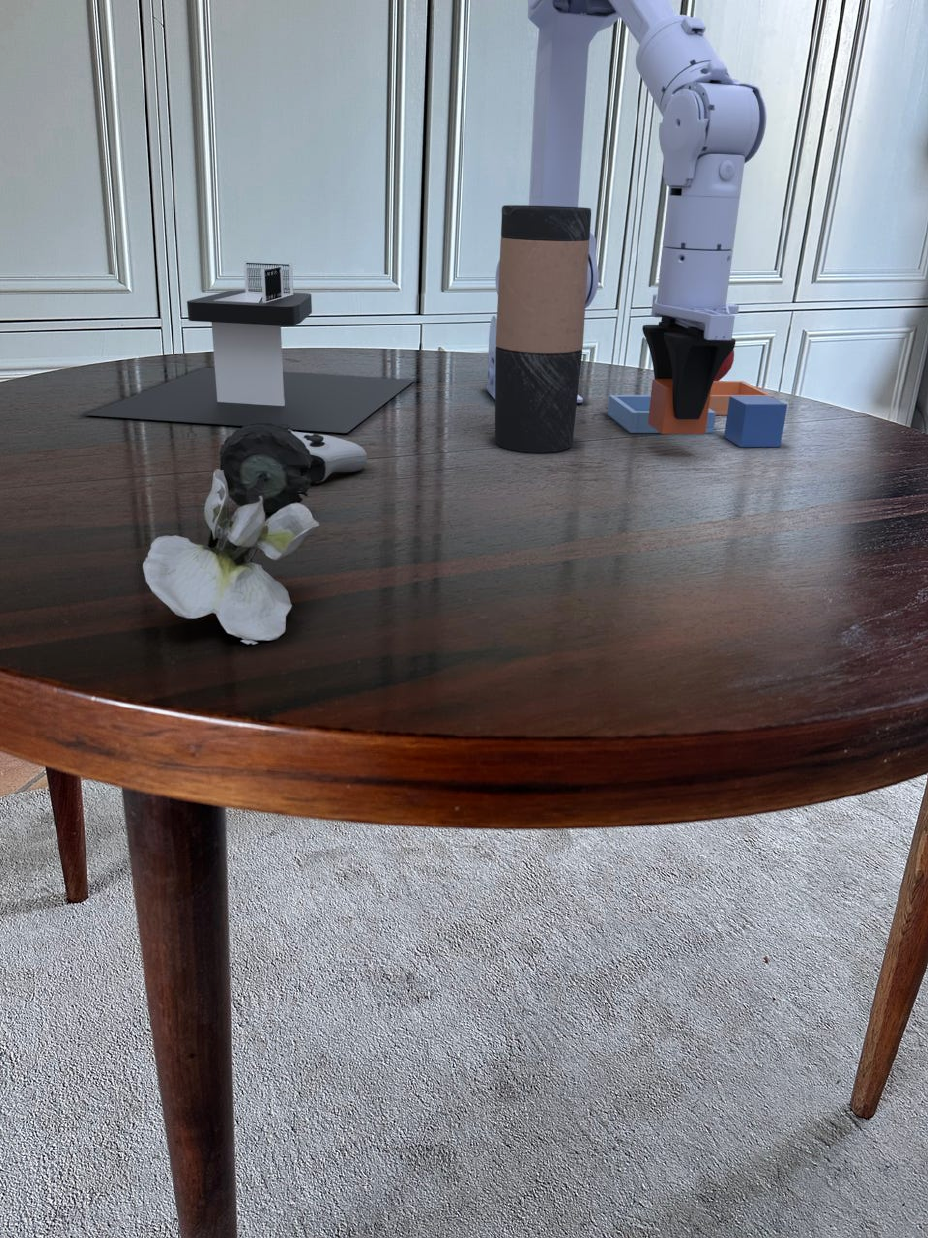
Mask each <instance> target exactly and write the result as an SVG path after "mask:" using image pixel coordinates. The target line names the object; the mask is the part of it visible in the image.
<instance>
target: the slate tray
mask: <svg viewBox="0 0 928 1238" xmlns="http://www.w3.org/2000/svg"><path fill="white" fill-rule="evenodd" d="M650 399H651V394H639V395H638V394H615V395H614V394H610V395H608V402H607V413H606V414H607V415H608V416H609V417H610V418H611V419H613V420H614V421H615V422H616V423H617V424H618V425H620V426H621V427H622V428H624V429H625V430H626V431H627V432H628V433H630V434H661V433H660V432H659V431H657V430H656V429H655V428H653V427H652V426H651V425H649V424H648V418H649V409H650ZM716 416H717V415H716V412H714V411H713V410H711V409H709V410H708V418H707V426H706V433H705V434H713V433H714V432H715V423H716Z"/></svg>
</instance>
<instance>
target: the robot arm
mask: <svg viewBox="0 0 928 1238" xmlns="http://www.w3.org/2000/svg"><path fill="white" fill-rule="evenodd" d="M527 19H528V20H529V21H530V22H531V23H532V24H533V25H535V26H536V45H535V47H536V49H535V68H534V89H533V108H532V109H533V110H532V131H531V153H530V156H531V157H530V173H529V192H528V193H529V196H528V205H529V206H562V207H579V201H580V200H579V199H580V196H579V195H580V186H581V185H580V183H581V169H582V168H581V167H582V154H583V140H584V139H583V137H584V124H585V123H584V122H585V108H586V95H587V94H586V92H587V80H588V79H587V78H588V64H589V63H588V62H589V49H590V44H591V42H592V41H593V39H594V38H595V36H596V35H597V34H598V33H599V32H601V31H603V30H606V29H609V28H611V27H612V26H613V25H614V24H615V23H616V22H617V21H618V20H619V19H621V21H622V22H623V23H624V25H625V26H626V28H627V29H628V31H629V32H630V33H631V35H632V37H633V38H634V39H635V40H636V42H637V43H638V48H637V51H636V55H635V66H636V70H637V72H638V75H639V76H640V77H641V80H642V81H643V83H644V85H645V87H646V89H647V90H648V93H649V94H650V96H651V98H652V100H653V102H654V103H655V106H656V107H657V109H658V111H659V113H660V114H661V116H662V121H661V122H660V123H659V124H658V139H659V146H660V150H661V153H662V156H663V172H662V173H663V174H662V179H664V180H663V181H664V182H663V183H664V185H665V186H667V187H668V189H667V190H668V191H667V200H666V201H667V203H666V211H665V221H664V230H663V239H662V247H661V258H660V267H659V268H660V269H659V276H658V277H659V278H658V285H657V286H658V287H657V293H655V294H654V293H653V296H652V303H651V314H650V316H651V317H653V318H656V319H657V318H661V321H659V322H658V324H643V325H642V327H641V328H642V329H641V331H642V334H643V337H644V338H645V341H646V344H647V347H648V349H649V350H648V351H649V353H650V357H651V363H652V368H653V369H652V370H653V377H654V378H653V379H673V411H674V417H675V418H676V419H699V418H700V416H701V414H702V411H703V409H704V406H705V403H706V400H707V398H708V395H709V392H710V389H711V387H712V384H713V382H714V380H715V377H716V375H717V373H718V371H719V370H720V368H721V366H722V364H723V363H724V361H725V360H726V358H727V357H728V355H729V354H730V353H731V351H732V350H733V349H734V350H735V347H736V342H737V341H736V340H737V339H736V338H733V331H734V325H735V324H734V323H735V319H736V315H738V314H739V311H740V310H739V309H740V306H739V305H738V304H736V303H731V302H727V299H728V293H729V292H728V291H729V283H730V276H731V270H732V269H731V268H732V260H733V255H734V254H733V253H734V246H735V237H736V231H737V224H738V223H737V222H738V216H739V215H738V214H739V206H740V199H741V193H742V184H743V177H744V170H745V164H746V163H748V162H749V161H750V160H752V158H754V156H755V155H756V153H757V152H758V150H759V149H760V147H761V145H762V143H763V140H764V137H765V132H766V128H767V107H766V102H765V100H764V98H763V96H762V92H761V89H760V87H759V86H758V85H756V84H754V83H746V82H740V81H739V79H737V78H735V79H734V78H732V77H731V75H730V74H729V72H728V67H727V66H726V64H725V63H724V61H722V60H721V59H720V57H719V55H718V54H717V52H716V51H715V49H714V47H713V45H712V44H711V42H710V40H709V39H708V37H707V35H706V33H705V32H706V24H704V22H703V20H702V19H701V18H699V17H692V16H689V15H686V14H677V13H676V10H675V9H674V7H673V5H672V2H671V0H527ZM596 246H597V239H596V237H595V235H594V234H593V233H592V232H591V231H590V239H589V256H588V272H587V287H586V303H585V309H587V308H589V306H590V305H592V302H593V301H594V299H595V297H596V295H597V291H598V288H599V283H600V281H599V280H600V274H599V273H600V272H599V267H598V263H597V251H596V250H597V247H596ZM499 263H500V258H499V259H498V262H497V265H496V269H495V270H496V271H495V291H496V295H497V296H498V284H499ZM496 325H497V314H494V315H493V316H492V317H491V321H490V326H489V335H488V358H487V359H488V360H487V361H488V363H487V385H486V388H485V389H486V391H487V392H488V393H489V394H490V396H491V397H492V398H493V399H494V400H495V350H496ZM583 402H584V398H583V397H582V396H580V395H579V394H578V398H577V404H582V403H583Z"/></svg>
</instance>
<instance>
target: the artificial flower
mask: <svg viewBox="0 0 928 1238" xmlns="http://www.w3.org/2000/svg"><path fill="white" fill-rule="evenodd" d="M223 442H224V443H223V444H221V447H220V451H219V462H220V464H219V468H220V469H219V468H216V469H214V471H213V475H212V484H211V490H210V492H209V494H208V495H207V498H206V499H205V503H204V507H203V508H204V509H203V514H204V516H203V517H204V520H205V522H206V524H207V526H208V527H209V529H210V530H209V535H208V539H207V544H200V543H194V542H192V541H191V540H190V539H189V538H187V537H183V536H180V535H172V536H171V535H162V536H158V537H156V538H155V539H154V540H153V541H152V542H151V543H150V549H149V551H148V553H147V556H146V557H145V559H144V562H143V564H142V569H143V575H144V579H145V583H147V585H148V586H149V589H150V591H151V593H152V594H154V595H155V596H156V597H157V598H158V599H159V600H160V601H162V603H163V604H164V605H166V606H168V608H170V610H171V611H172V612H173V613H174V615H176V616H178V617H181V618H184V619H198V618H202V617H205V616H208V615H210V614H215V615H216V618H217V619H218V621H219V623H220V625H221V627H222V628H223V629H224V630H225V632H226V633H227V634H229V635H232V636H234V637H237V638H241V639H242V640H240V642H242V643H244V644H246V645H250V644H251V645H253V646H254V645H256V644H258V641H259V642H261V641H262V642H263V641H275V640H278V639H279V638H280V637H281V636H282V635H283V634H285V632H286V628H287V627H286V624H287V616H288V614H289V613H290V611H291V609H292V607H293V605H292V603H291V599H290V595H289V591H288V590H287V589H286V587H285V586H284V585H283V584H282V583H281V582H280V581H277V580H275V579H274V578H273V576H271V575H270V574H269V573H268V572H266V570H264V569H263V565H262V564H258V563H255V562H253V559H254V558H255V556H256V553H257V551H258V550H261V552H262V553H263V554H264V555H265V556H266V557H267V558H269V559H271V560H272V561H274V562H275V561H279V560H280V559H282V558H284V557H286V556H290V555H291V554H292V553H293V552H295V551H296V550H298V549H299V547H300V546H301V544H302V542H303V541H304V539H305V538H306V537H307V536H308V535H310V533H311V532H312V531H314V530H315V529H316V528H318V527H319V526H320V522H319V521H317V520H315V519H314V518H313V514H312V512H311V511H310V509H309V507H307V506H306V505H305V504H302V501H303V498H302V497H301V495H303V496H304V497H308V495H309V494H308V491H309V489H313V487H312V486H311V484H312V483H311V481H312V480H311V479H310V476H311V475H310V474H309V473H308V474H307V473H306V474H303V475H301V472H300V471H299V469H300V468H304V467H308V468H310V466H311V462H312V461H313V460H314V459H313V458H312V456H311V455H310V451H309V450H308V449H307V448H306V446H305V444H304V443H303V442H302V441H301V440H300V439H299V438H297V437H296V436H295V435H294V434H292V433H291V432H290V431H288V430H286V429H284V428H282V427H281V426H280V427H279V426H277V425H274V424H271V423H254V424H250V425H246V426H241V427H240V428H239V429H235V431H233V433H232V434H231V435H230V436H227V438H226V439H225V440H224V441H223ZM229 498H230V499H231V500H232V501H233V502H234V503H235V504H236V505H237V506H239V507H237V509H236V510H235V511H234V512H233V514H232V516H230V511H229V500H230V499H229ZM266 512H275V513H273V514H271V515H270V516H269V517H268V518H267V519H266Z"/></svg>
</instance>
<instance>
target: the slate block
mask: <svg viewBox="0 0 928 1238" xmlns="http://www.w3.org/2000/svg"><path fill="white" fill-rule="evenodd" d="M787 408H788V404H787V403H786V402H784V401H781V400H779V399H777V398H775V397H774V398H773V397H771V396H729V404H728V411H727V415H726V419H725V420H726V421H725V428H724V435H723V437H724V438H725V439H726V440H728V441H729V442H731V443H733V445H735V446H737V447H738V448H781V447H782V446H781V445H782V440H783V433H784V427H785V421H786V415H787Z"/></svg>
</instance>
